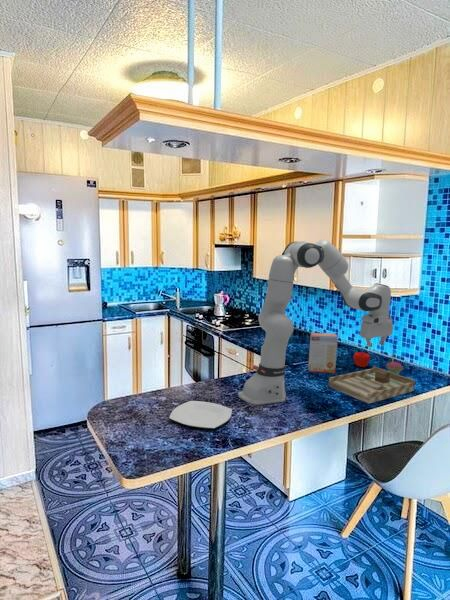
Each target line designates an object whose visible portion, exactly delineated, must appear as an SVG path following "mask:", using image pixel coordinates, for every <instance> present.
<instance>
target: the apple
mask: <svg viewBox="0 0 450 600" xmlns="http://www.w3.org/2000/svg"><path fill="white" fill-rule="evenodd" d="M370 359H371V356H370V354H368V353H366V352H362V351H361V352H355V353H354V354H353V361H354V363H355V365H356V366H357V367H359V368H366V367H367V366H368V364H369V363H370Z"/></svg>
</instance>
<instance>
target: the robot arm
mask: <svg viewBox="0 0 450 600" xmlns="http://www.w3.org/2000/svg"><path fill="white" fill-rule="evenodd" d="M271 262H272V263H271V265H270V269H269V274H268V279H267V286H266V295H265V298H264V303H263V305H262V308H261V311H260V313H259V314H258V323H259V326H260V328H261V329H262V330H263V331H265V337H264V340H263V344H261V349H260V361H259V362H260V363H259V364H258V365H256V364H254V365H253V366H252V370H254V371H256V372H255V373H254V374H253V375H252V376H251V377H250V378H248V379H247V380H246V381H245V382H244V385H243V390H241V391H239V392H237V396H238V398H240V399H241V400H242V401H244V402H246V403H248V404H251V405H255V406H257V405H260V406H261V405H266V404H275V403H283V402H286V397H287V394H286V393H287V392H286V388H285V387H286V386H285V385H286V384H285V375H286V365H285V364H286V353H287V346H288V343H289V340H290V337H291V336H292V335H293V332H294V323H293V322H292V319H291V318H290V317H289V316H288V315H286V309H287V307H288V304H289V303H290V302H291V300H292V295H293V287H294V281H295V274H296V271H297V269H298V268H305V269H311V268H315V267H316V266H318V267H320V269H321V270H322V271H323V273H324V274H325V275H326V276H327V277H328V278H329V279H330V281H331V282H332V284H333V285H334V286H335V287H336V289H337V290H338V292H339V293H340V294H341V297H342V300H343V304H344V305H345V306H346V307H347V308H349V309H350V308H351V309H356V310H357V311H358V310H359V311H362V312H368V313H365V314H364V315H363V316H362V317H361V324H360V330H359V335H360V337H361V338H363V339H365V342H366V347H368V348H370V347H372V344H373V343H372V342H371V341H372V339H373V338H380V337H381V338H380V340H379V341H378V343H379V344H378V345H381V346H384V345H385V341H386V339H387V337H388V336H392V335H393V333H394V332H393V330H394V328H393V327H394V326H393V325H394V323H393V319H392V317H391V316H390V309H389V307H390V304H391V299H392V298H391V297H392V294H391V293H392V290H391V288H390V286H389V285H386V284H382V283H374V284H373V285H371V286H370V287H369V288H366V289H361V288H357V287H355V286H353V285H352V284H351V283H350V281H349V280H348V279H347V277H346V276H345V275H346V273H347V272H348V269H349V263H348V261H347V259H346V257H344V255H343V254H342V252H341V251H339V249H338V248H337V247H336V246H335V245H334V244H333V243H331V242H330V241H329V240H327V239H320V240H318V241H317V242H315V243H312V242H307V241H292V242H290V243H288V244H287V245H286V247H285V248H284V250H283V252H282V254H281V255H280V254H279V255H277V256H275V257H274V258H273V260H272V261H271Z"/></svg>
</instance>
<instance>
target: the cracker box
mask: <svg viewBox="0 0 450 600" xmlns="http://www.w3.org/2000/svg"><path fill="white" fill-rule="evenodd" d="M309 339H310V341H309V350H308V351H309V353H308V365H307V369H308V371H309V372H310V373H323V374H324V373H325V374H336V366H337V365H336V362H337V350H338V339H339V336H338V335H337V334H336V333H325V332H324V333H323V332H321V333H320V332H310V338H309Z"/></svg>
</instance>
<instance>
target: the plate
mask: <svg viewBox="0 0 450 600" xmlns="http://www.w3.org/2000/svg"><path fill="white" fill-rule="evenodd" d="M232 413H233V409H232V408H230V407H227V406H225V405H221V404H219V403H214V402H210V401H209V402H208V401H199V400H189V401H187V402H184V403H182V404H179V405H178V406H176V407H174V409H173V410H172V411H171V413H170V415H169V417H168V419H169V420H171V421H174V422H176V423H179V424H181V425H185V426H187V427H193V428H194V427H195V428H200V429H202V428H203V429H216V428H218V427H220V426H222V425H224V424H225V423H226V422H228V421H229V420H230V418H231V417H232V415H233V414H232Z"/></svg>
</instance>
